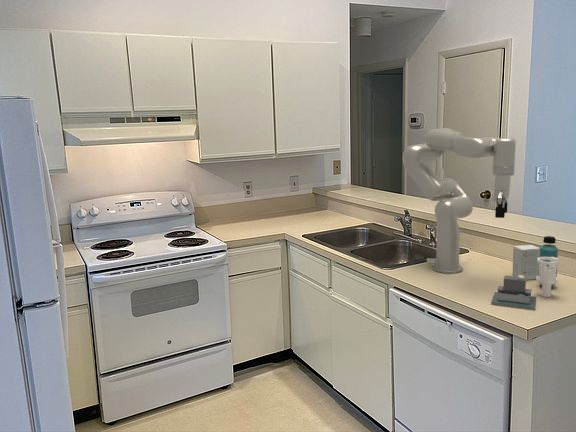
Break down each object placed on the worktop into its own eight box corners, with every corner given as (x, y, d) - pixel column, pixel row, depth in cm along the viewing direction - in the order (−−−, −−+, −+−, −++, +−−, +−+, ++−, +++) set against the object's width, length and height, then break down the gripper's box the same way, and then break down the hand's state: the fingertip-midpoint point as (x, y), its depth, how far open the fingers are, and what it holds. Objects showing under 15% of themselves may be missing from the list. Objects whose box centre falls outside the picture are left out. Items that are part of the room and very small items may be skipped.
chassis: (491, 304, 175) (491, 292, 174) (494, 294, 185) (495, 282, 184) (534, 310, 169) (535, 297, 168) (536, 299, 178) (537, 287, 177)
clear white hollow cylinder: (550, 300, 176) (553, 260, 174) (531, 295, 182) (533, 256, 179) (560, 295, 181) (563, 256, 178) (541, 290, 186) (543, 252, 183)
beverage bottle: (558, 286, 190) (561, 236, 186) (553, 291, 185) (557, 239, 181) (540, 282, 194) (542, 233, 190) (535, 287, 190) (537, 237, 186)
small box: (530, 274, 205) (531, 244, 202) (539, 279, 199) (541, 248, 196) (511, 275, 204) (513, 245, 202) (520, 280, 198) (521, 249, 195)
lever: (496, 299, 177) (497, 275, 176) (498, 295, 181) (499, 272, 179) (530, 303, 172) (532, 278, 170) (531, 299, 176) (532, 275, 174)
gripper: (495, 168, 195) (493, 210, 199) (489, 173, 181) (487, 218, 184) (516, 168, 192) (513, 211, 195) (512, 174, 177) (509, 220, 181)
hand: (501, 215), depth 190 cm, fingers open, 9 cm apart
